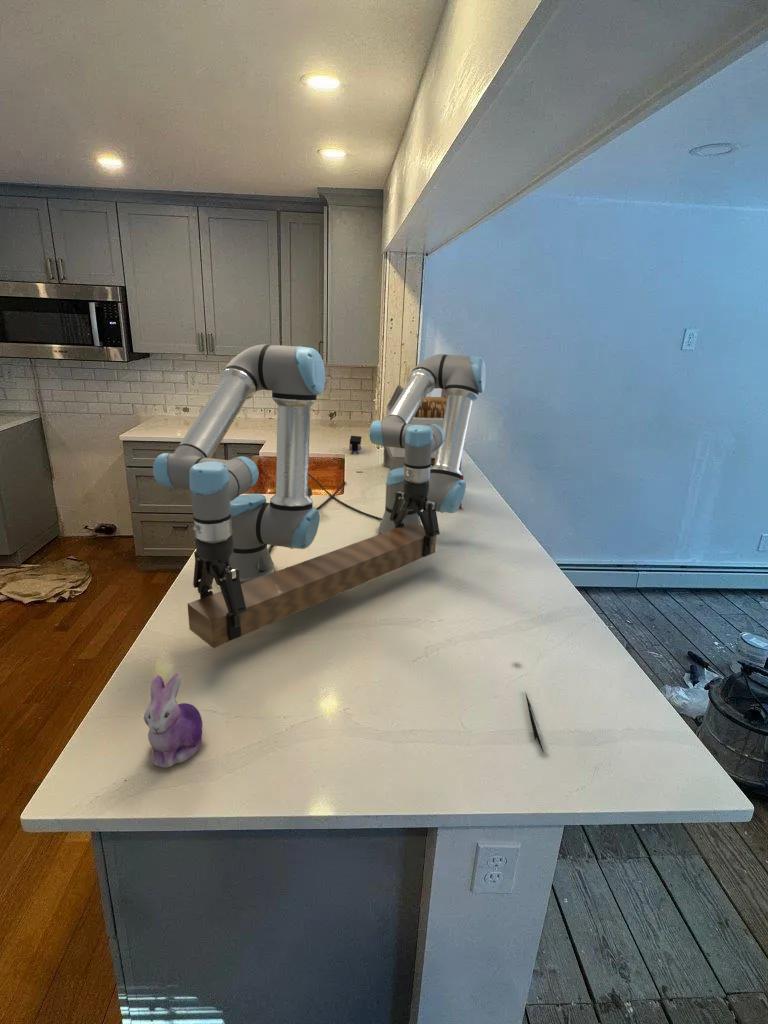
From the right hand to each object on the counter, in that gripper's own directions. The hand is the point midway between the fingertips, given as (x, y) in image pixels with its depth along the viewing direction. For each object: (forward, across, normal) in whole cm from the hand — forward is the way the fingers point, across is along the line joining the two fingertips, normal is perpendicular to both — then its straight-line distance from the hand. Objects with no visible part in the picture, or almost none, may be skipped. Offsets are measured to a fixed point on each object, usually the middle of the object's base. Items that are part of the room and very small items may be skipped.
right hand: (412, 549), depth 172 cm
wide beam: (0, 0, -33) cm, 33 cm away
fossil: (+7, -63, +5) cm, 63 cm away
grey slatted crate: (+10, -67, +84) cm, 108 cm away
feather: (+5, +58, -31) cm, 66 cm away
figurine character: (+10, -117, +89) cm, 147 cm away
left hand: (-2, 0, -65) cm, 65 cm away
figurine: (+4, +21, -88) cm, 90 cm away
